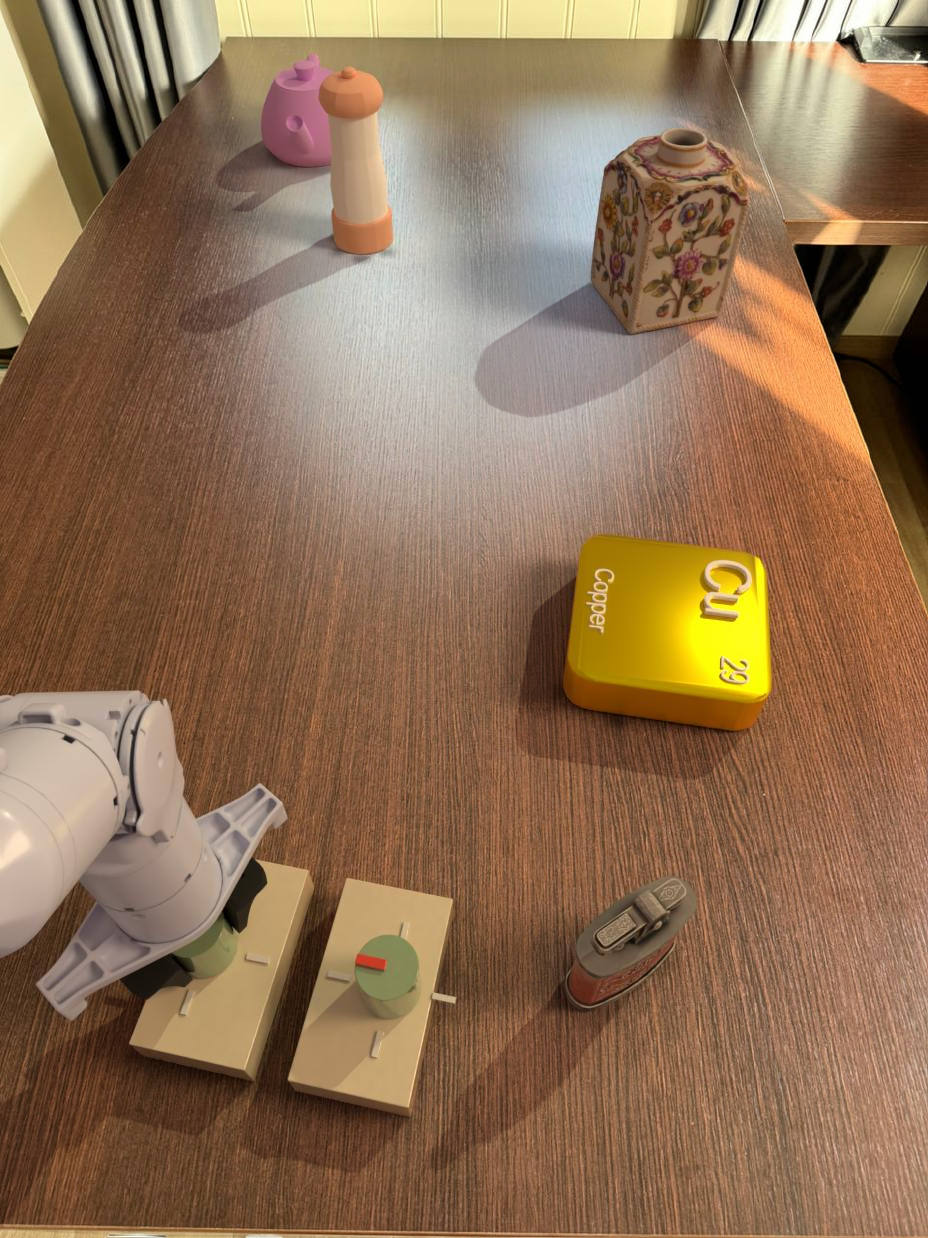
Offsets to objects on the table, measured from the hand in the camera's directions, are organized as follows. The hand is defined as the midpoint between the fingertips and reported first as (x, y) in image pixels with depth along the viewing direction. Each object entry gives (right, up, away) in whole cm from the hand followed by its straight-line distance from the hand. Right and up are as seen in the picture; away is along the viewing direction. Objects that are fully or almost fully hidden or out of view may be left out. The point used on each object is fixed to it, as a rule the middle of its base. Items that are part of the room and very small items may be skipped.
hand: (206, 945), depth 54 cm
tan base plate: (+1, -2, +3) cm, 4 cm away
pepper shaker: (+3, +66, +56) cm, 87 cm away
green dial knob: (0, 0, 0) cm, 1 cm away
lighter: (+26, -2, +3) cm, 26 cm away
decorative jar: (+37, +56, +48) cm, 83 cm away
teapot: (-5, +85, +71) cm, 110 cm away
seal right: (+11, -2, -1) cm, 12 cm away
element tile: (+32, +18, +19) cm, 41 cm away
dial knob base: (+10, -4, +2) cm, 11 cm away
